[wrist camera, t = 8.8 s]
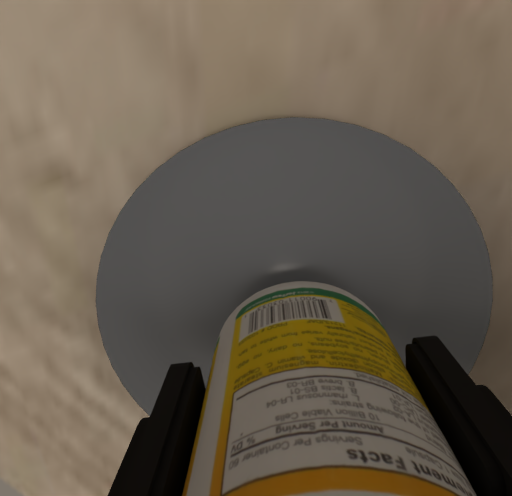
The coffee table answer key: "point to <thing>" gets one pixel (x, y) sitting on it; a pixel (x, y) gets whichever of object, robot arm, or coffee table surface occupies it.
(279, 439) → the supplement bottle
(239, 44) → the coffee table surface
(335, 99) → the coffee table surface
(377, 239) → the plate
